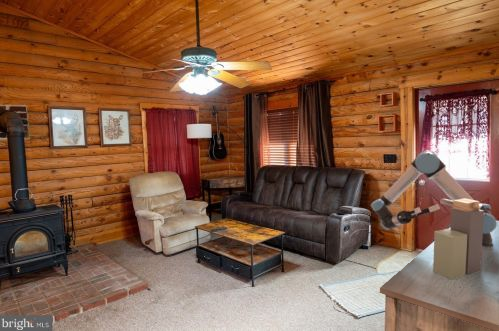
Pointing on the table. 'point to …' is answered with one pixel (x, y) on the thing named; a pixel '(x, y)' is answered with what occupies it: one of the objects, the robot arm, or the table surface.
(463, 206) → the handle block
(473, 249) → the tall stand
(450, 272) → the low stand
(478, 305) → the table surface
